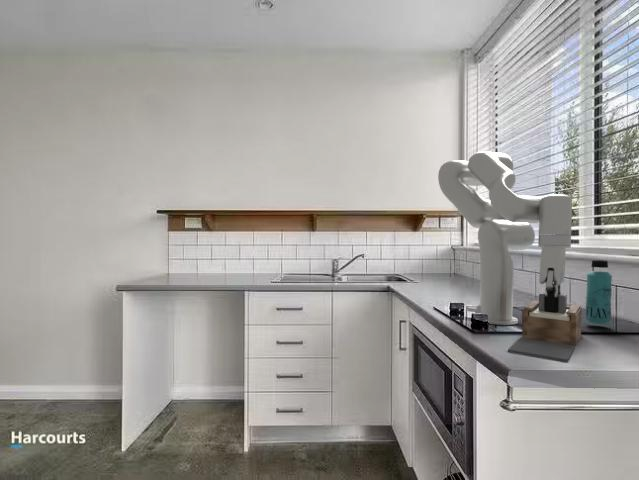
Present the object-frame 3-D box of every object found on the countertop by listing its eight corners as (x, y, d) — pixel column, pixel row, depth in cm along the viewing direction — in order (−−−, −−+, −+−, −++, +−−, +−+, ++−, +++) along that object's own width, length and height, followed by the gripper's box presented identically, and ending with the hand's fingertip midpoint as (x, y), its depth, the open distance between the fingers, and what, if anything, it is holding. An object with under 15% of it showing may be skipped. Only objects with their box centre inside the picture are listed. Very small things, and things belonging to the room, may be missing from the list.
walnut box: (522, 338, 109) (522, 307, 109) (532, 328, 120) (532, 300, 120) (575, 346, 102) (576, 313, 102) (580, 335, 113) (581, 305, 113)
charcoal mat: (507, 352, 96) (507, 349, 96) (520, 339, 108) (520, 337, 108) (567, 362, 89) (567, 359, 89) (574, 348, 100) (574, 345, 100)
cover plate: (529, 316, 109) (529, 295, 108) (537, 309, 118) (538, 290, 118) (569, 320, 103) (570, 298, 103) (574, 313, 113) (575, 293, 113)
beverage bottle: (580, 326, 125) (582, 259, 125) (590, 323, 129) (592, 259, 128) (605, 330, 120) (607, 261, 119) (614, 327, 124) (616, 260, 123)
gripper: (543, 241, 119) (541, 304, 120) (532, 241, 106) (530, 313, 106) (574, 241, 115) (572, 308, 115) (567, 242, 101) (564, 317, 102)
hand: (552, 309), depth 111 cm, fingers closed on cover plate, 4 cm apart
